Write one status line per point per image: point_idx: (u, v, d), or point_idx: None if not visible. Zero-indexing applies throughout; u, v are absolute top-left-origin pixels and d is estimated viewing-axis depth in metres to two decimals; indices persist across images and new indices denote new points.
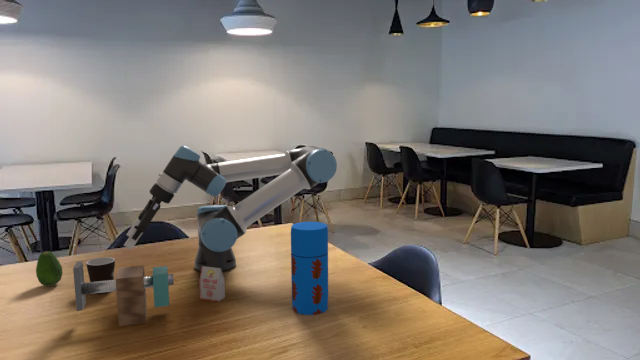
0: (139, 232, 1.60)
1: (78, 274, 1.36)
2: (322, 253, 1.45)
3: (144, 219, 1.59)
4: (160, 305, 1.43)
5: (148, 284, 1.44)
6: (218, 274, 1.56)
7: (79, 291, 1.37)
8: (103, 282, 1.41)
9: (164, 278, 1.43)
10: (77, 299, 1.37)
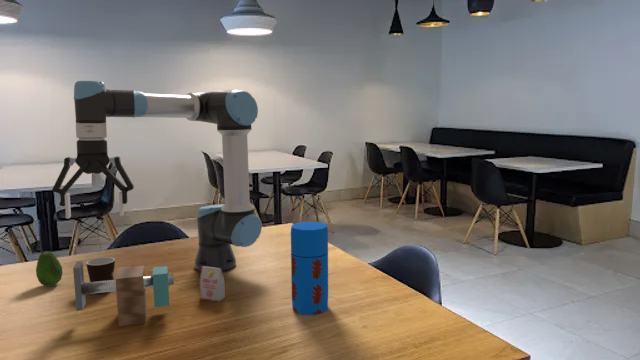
0: None
1: (78, 274, 1.36)
2: (322, 253, 1.45)
3: (127, 177, 1.40)
4: (160, 305, 1.43)
5: (148, 284, 1.44)
6: (218, 274, 1.56)
7: (79, 291, 1.37)
8: (103, 282, 1.41)
9: (164, 278, 1.43)
10: (77, 299, 1.37)
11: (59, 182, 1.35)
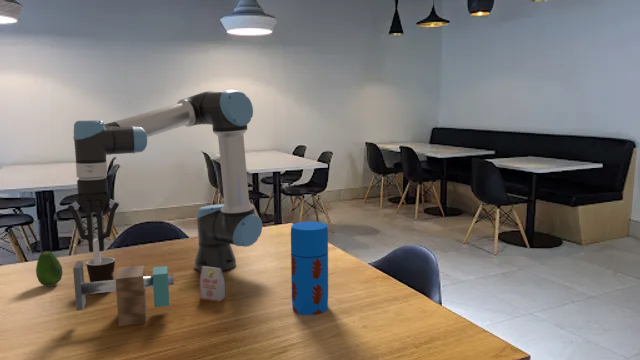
0: None
1: (78, 274, 1.36)
2: (322, 253, 1.45)
3: None
4: (160, 305, 1.43)
5: (148, 284, 1.44)
6: (218, 274, 1.56)
7: (79, 291, 1.37)
8: (103, 282, 1.41)
9: (164, 278, 1.43)
10: (77, 299, 1.37)
11: (81, 228, 1.37)
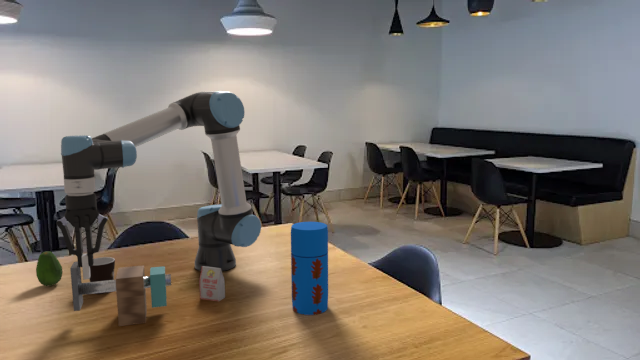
0: None
1: (75, 274, 1.36)
2: (322, 253, 1.45)
3: None
4: (157, 305, 1.43)
5: (145, 284, 1.43)
6: (218, 274, 1.56)
7: (76, 291, 1.37)
8: (100, 282, 1.41)
9: (161, 278, 1.43)
10: (74, 299, 1.37)
11: (69, 244, 1.36)
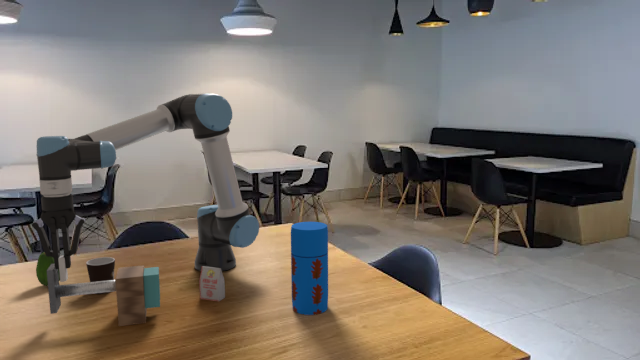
0: None
1: (52, 277, 1.35)
2: (322, 253, 1.45)
3: (78, 242, 1.37)
4: (151, 306, 1.43)
5: None
6: (218, 274, 1.56)
7: (53, 294, 1.35)
8: (78, 285, 1.39)
9: (155, 279, 1.42)
10: (51, 302, 1.35)
11: (46, 246, 1.35)
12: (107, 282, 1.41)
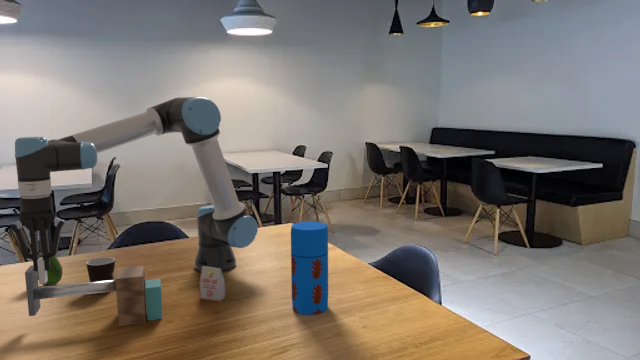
0: (49, 258, 1.37)
1: (30, 279, 1.33)
2: (322, 253, 1.45)
3: (57, 244, 1.36)
4: (153, 318, 1.43)
5: (104, 289, 1.40)
6: (218, 274, 1.56)
7: (31, 296, 1.34)
8: (57, 287, 1.38)
9: (157, 291, 1.43)
10: (29, 304, 1.34)
11: (24, 248, 1.33)
12: (87, 284, 1.40)
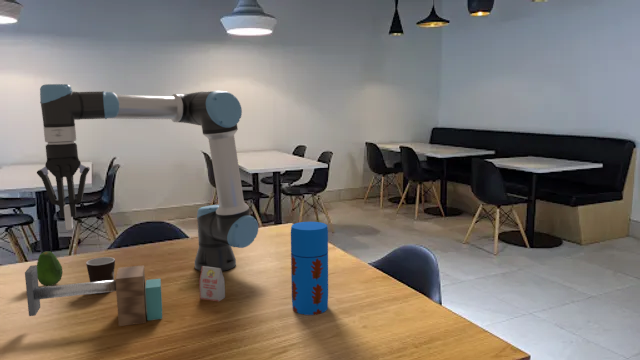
0: (75, 205, 1.39)
1: (30, 279, 1.33)
2: (322, 253, 1.45)
3: (83, 190, 1.39)
4: (153, 318, 1.43)
5: (104, 289, 1.40)
6: (218, 274, 1.56)
7: (31, 296, 1.34)
8: (57, 287, 1.38)
9: (157, 291, 1.43)
10: (29, 304, 1.34)
11: (51, 194, 1.36)
12: (87, 284, 1.40)
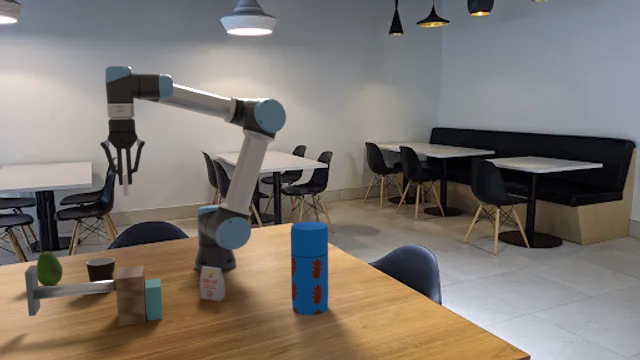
0: (131, 175, 1.57)
1: (30, 279, 1.33)
2: (322, 253, 1.45)
3: None
4: (153, 318, 1.43)
5: (104, 289, 1.40)
6: (218, 274, 1.56)
7: (31, 296, 1.34)
8: (57, 287, 1.38)
9: (157, 291, 1.43)
10: (29, 304, 1.34)
11: (112, 163, 1.53)
12: (87, 284, 1.40)
